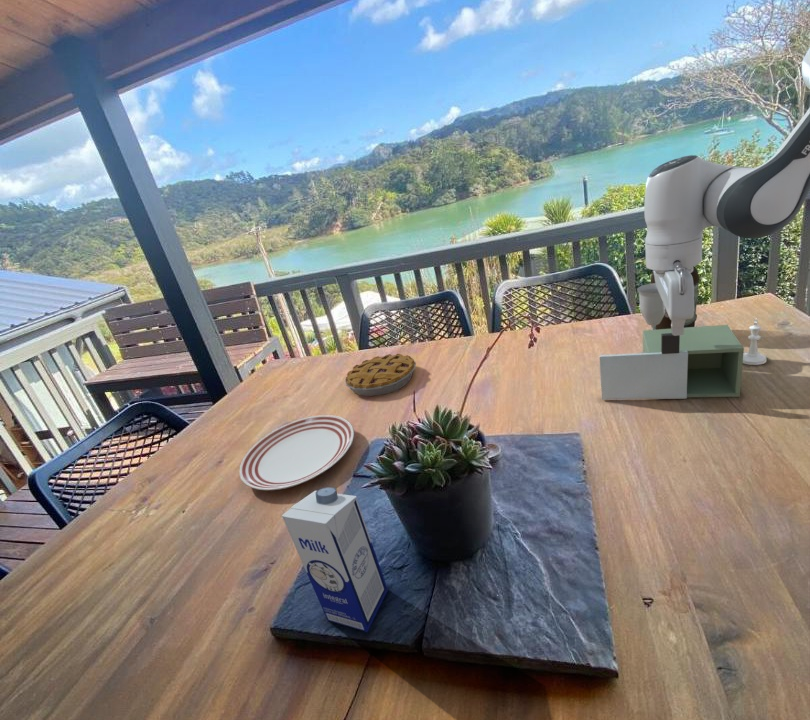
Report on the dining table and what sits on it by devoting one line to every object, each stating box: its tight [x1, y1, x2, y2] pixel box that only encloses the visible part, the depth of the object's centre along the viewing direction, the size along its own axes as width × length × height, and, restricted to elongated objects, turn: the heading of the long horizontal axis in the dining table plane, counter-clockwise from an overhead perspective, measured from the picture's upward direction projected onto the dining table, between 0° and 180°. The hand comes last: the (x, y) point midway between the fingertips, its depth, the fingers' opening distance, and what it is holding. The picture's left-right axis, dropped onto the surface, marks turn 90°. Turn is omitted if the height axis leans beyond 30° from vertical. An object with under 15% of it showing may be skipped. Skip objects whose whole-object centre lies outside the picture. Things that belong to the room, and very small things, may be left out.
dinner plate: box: [239, 414, 355, 491], centre depth 103 cm, size 27×27×3 cm
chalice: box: [636, 283, 664, 330], centre depth 105 cm, size 7×7×18 cm
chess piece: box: [743, 317, 768, 366], centre depth 96 cm, size 5×5×10 cm
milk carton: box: [281, 486, 389, 633], centre depth 60 cm, size 7×7×20 cm
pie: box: [344, 353, 417, 397], centre depth 132 cm, size 22×22×5 cm
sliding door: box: [598, 333, 688, 401], centre depth 91 cm, size 1×16×15 cm, turn 69°
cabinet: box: [642, 324, 745, 398], centre depth 93 cm, size 12×16×11 cm
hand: (673, 324), depth 85 cm, fingers open, 8 cm apart
